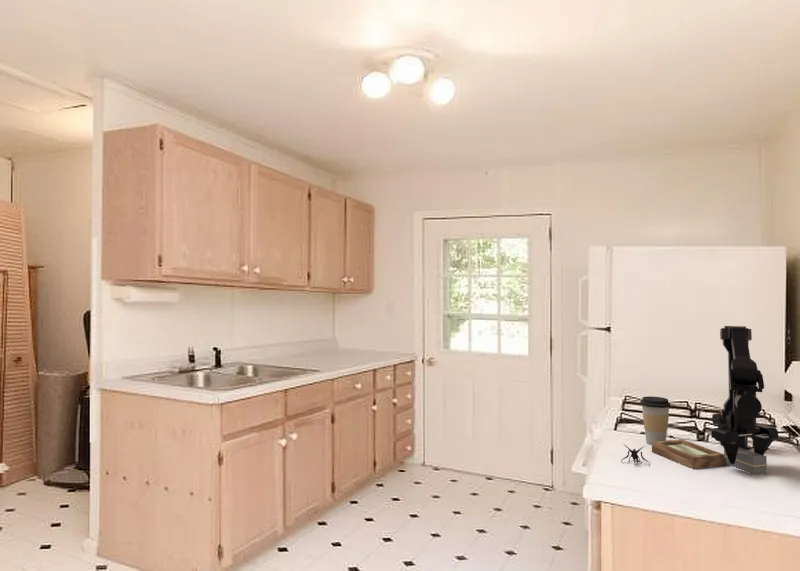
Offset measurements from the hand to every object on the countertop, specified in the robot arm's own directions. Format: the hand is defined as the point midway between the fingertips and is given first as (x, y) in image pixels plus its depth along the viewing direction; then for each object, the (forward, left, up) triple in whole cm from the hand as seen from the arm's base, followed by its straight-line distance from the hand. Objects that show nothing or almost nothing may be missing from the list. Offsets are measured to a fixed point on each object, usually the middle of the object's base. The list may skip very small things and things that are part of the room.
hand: (744, 462), depth 156 cm
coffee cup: (+7, -28, -2) cm, 29 cm away
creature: (+27, -12, -2) cm, 30 cm away
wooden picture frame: (+9, -12, -2) cm, 15 cm away
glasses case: (0, 0, -2) cm, 2 cm away
